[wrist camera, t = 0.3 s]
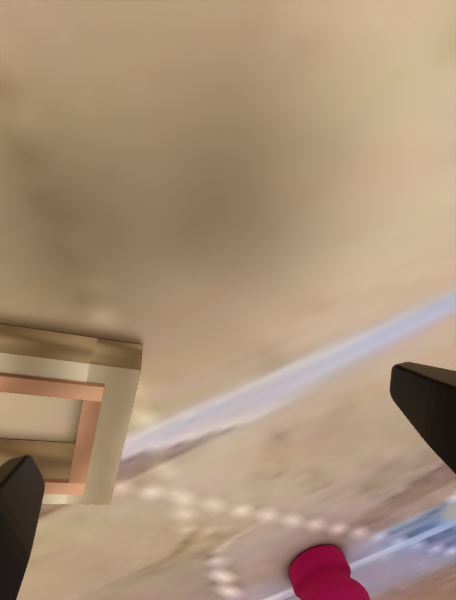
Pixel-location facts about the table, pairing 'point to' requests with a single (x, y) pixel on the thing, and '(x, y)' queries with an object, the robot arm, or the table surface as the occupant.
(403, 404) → the robot arm
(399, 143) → the table surface
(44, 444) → the socket board
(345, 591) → the pepper mill
